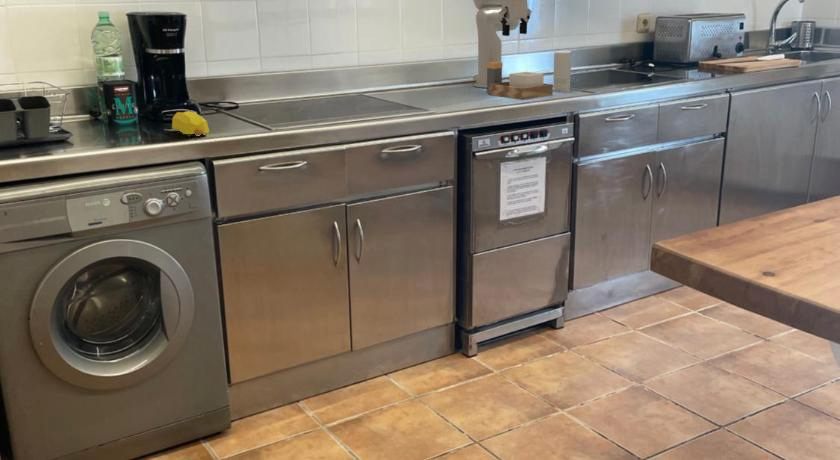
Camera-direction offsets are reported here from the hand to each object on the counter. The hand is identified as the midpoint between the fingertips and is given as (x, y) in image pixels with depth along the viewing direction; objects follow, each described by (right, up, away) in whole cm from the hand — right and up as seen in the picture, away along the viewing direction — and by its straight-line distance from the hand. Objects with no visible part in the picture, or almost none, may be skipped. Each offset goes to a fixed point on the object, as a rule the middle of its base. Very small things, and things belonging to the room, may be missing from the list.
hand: (514, 34), depth 309 cm
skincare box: (+20, -20, +12) cm, 30 cm away
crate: (+2, -23, +2) cm, 23 cm away
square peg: (-7, -21, +10) cm, 24 cm away
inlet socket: (+4, -23, +1) cm, 23 cm away
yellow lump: (-105, -45, -60) cm, 129 cm away
